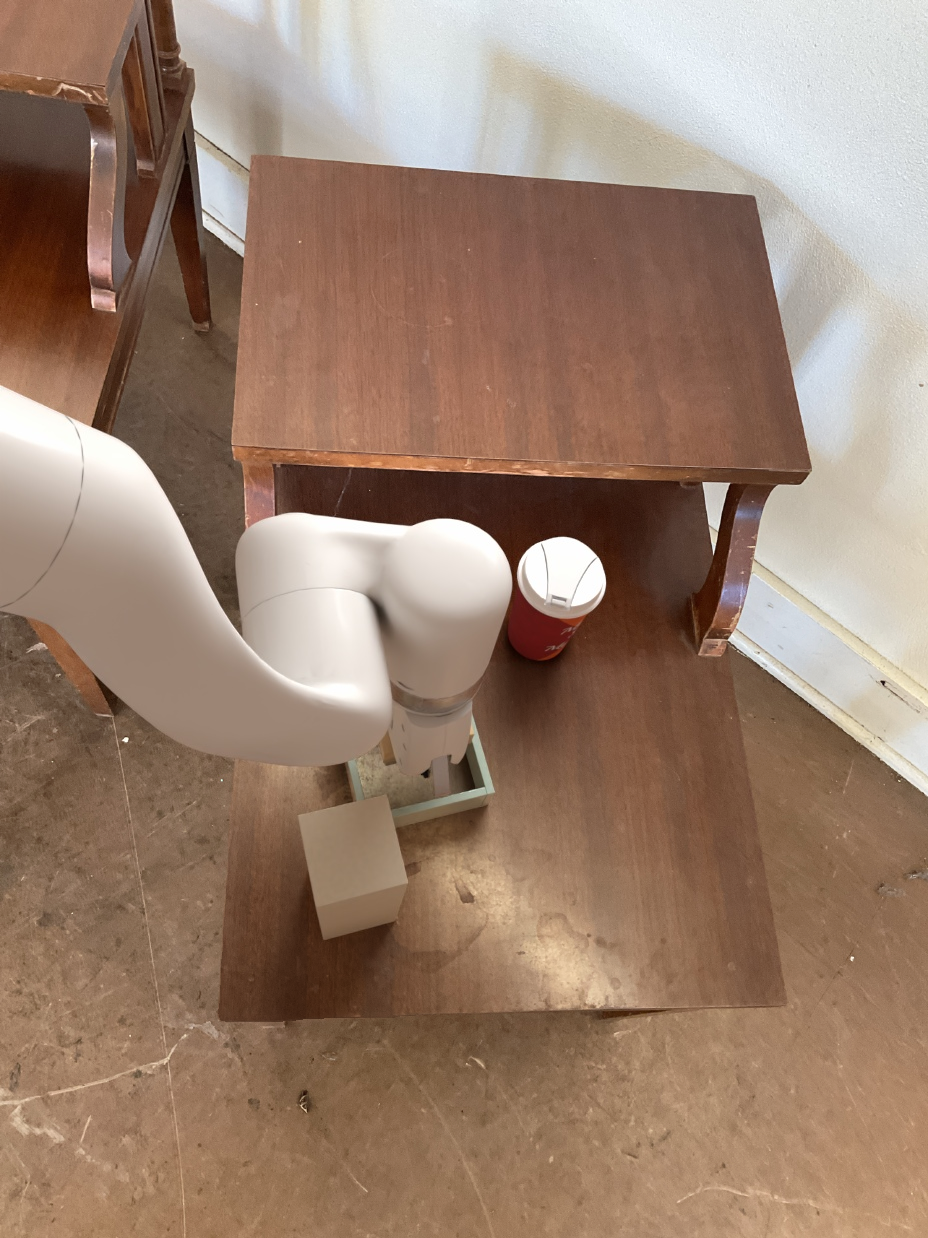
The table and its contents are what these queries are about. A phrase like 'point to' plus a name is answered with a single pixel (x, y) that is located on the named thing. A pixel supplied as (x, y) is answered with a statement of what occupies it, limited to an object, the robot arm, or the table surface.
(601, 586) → the paper cup
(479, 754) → the divided tray
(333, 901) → the block
